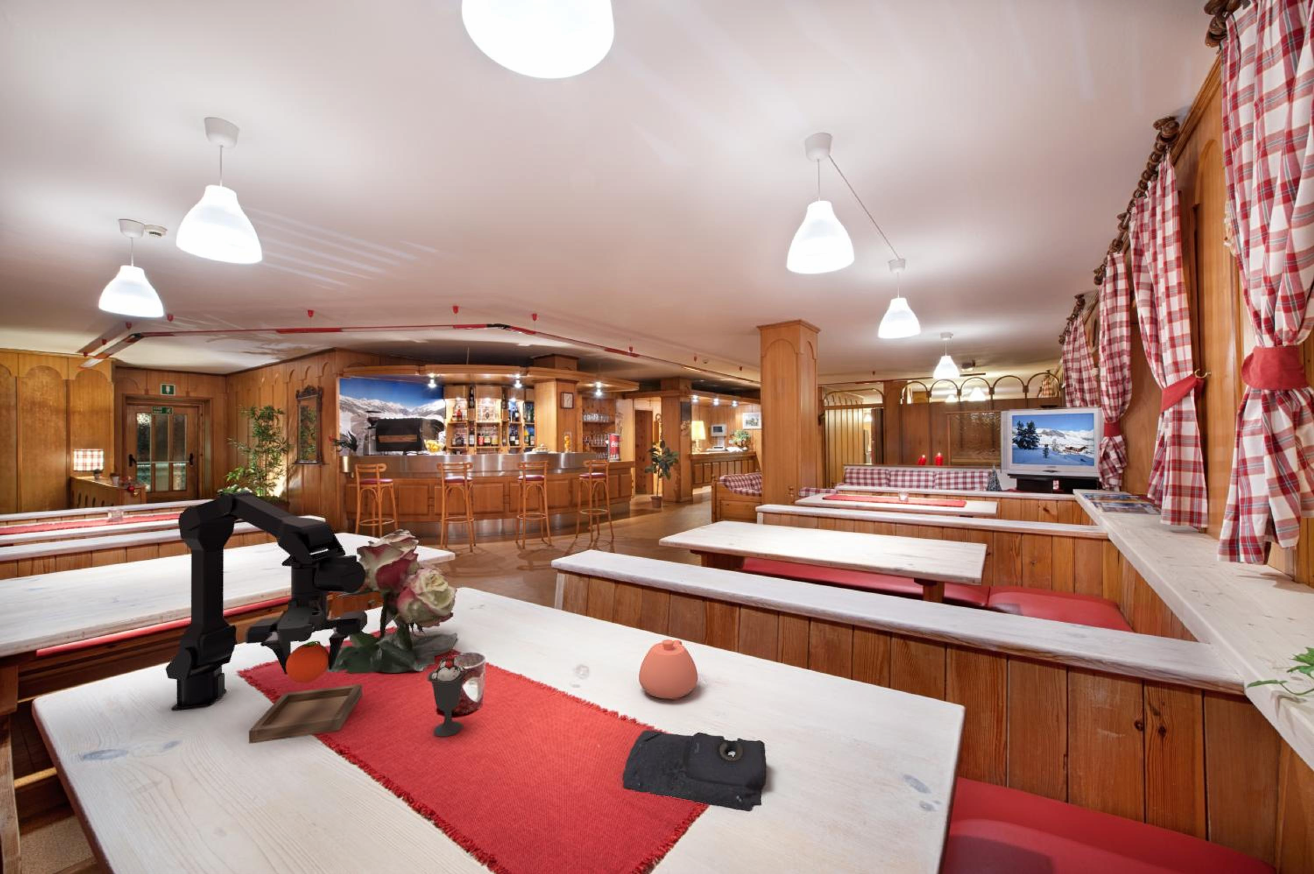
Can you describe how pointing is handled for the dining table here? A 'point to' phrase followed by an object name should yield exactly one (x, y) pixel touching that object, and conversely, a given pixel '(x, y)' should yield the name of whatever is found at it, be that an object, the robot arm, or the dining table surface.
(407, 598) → the rose bouquet
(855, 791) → the dining table surface
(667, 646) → the sugar bowl
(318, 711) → the walnut dish
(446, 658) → the sundae
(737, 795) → the black grommet pouch
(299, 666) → the clementine
